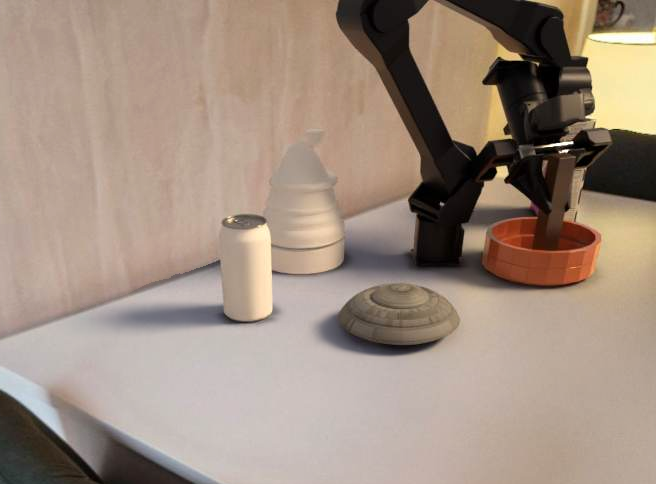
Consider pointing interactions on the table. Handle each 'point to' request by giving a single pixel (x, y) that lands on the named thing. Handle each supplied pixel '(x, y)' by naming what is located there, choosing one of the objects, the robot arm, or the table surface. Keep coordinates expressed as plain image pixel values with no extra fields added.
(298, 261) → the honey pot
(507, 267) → the bowl
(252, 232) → the can
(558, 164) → the stick
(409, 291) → the flying saucer
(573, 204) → the candy bar box
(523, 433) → the table surface
